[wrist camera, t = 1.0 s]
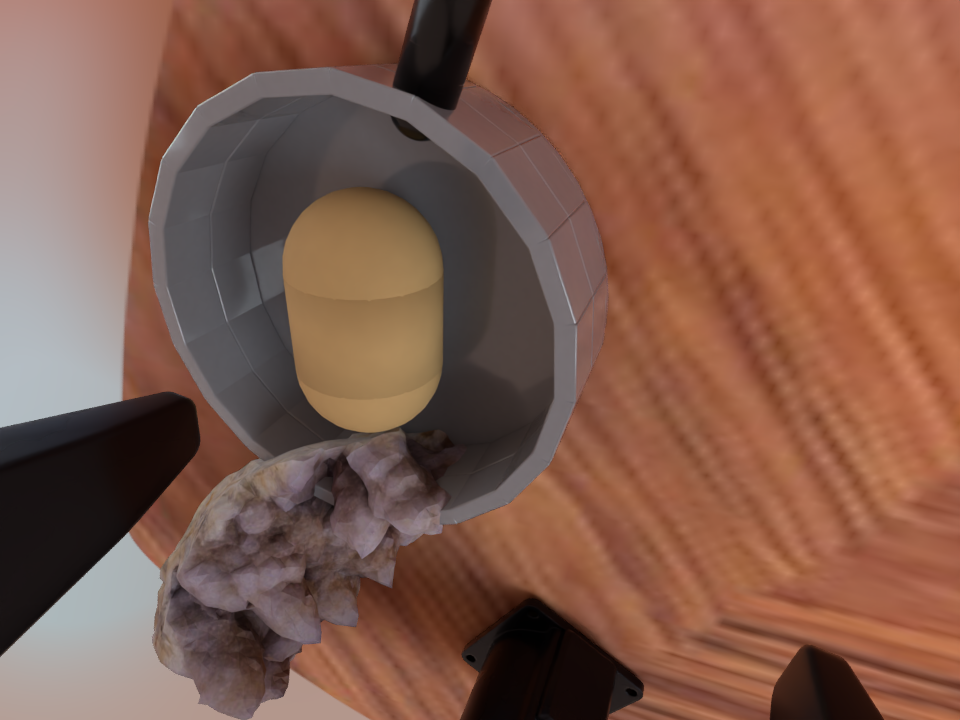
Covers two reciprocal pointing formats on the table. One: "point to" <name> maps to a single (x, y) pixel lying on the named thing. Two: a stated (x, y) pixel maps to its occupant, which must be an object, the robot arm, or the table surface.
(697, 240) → the table surface
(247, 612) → the mineral specimen
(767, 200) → the table surface
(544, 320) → the pan
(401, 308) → the potato
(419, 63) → the pan handle
